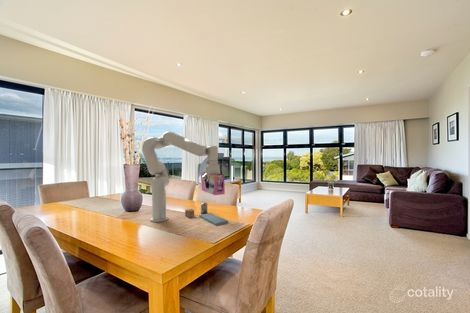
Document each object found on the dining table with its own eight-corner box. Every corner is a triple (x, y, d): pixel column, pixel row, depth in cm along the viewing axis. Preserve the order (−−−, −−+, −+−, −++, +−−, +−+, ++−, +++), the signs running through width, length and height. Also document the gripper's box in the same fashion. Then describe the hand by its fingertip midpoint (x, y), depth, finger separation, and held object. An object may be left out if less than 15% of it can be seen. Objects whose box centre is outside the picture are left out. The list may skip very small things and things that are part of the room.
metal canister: (200, 213, 183) (199, 203, 183) (205, 212, 186) (205, 202, 186) (202, 214, 179) (202, 204, 179) (208, 213, 182) (208, 203, 181)
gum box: (225, 194, 156) (225, 174, 156) (215, 195, 152) (215, 175, 151) (210, 189, 176) (210, 171, 176) (201, 190, 172) (201, 172, 172)
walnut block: (185, 216, 174) (185, 209, 174) (191, 215, 177) (191, 208, 177) (188, 217, 170) (187, 211, 170) (194, 216, 173) (194, 210, 173)
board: (199, 217, 172) (199, 215, 172) (210, 214, 178) (210, 212, 178) (215, 225, 152) (215, 223, 152) (228, 222, 158) (228, 220, 158)
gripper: (204, 163, 156) (204, 189, 156) (225, 162, 166) (225, 186, 166) (199, 163, 162) (199, 187, 162) (220, 162, 172) (220, 185, 173)
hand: (212, 187), depth 164 cm, fingers closed on gum box, 8 cm apart
